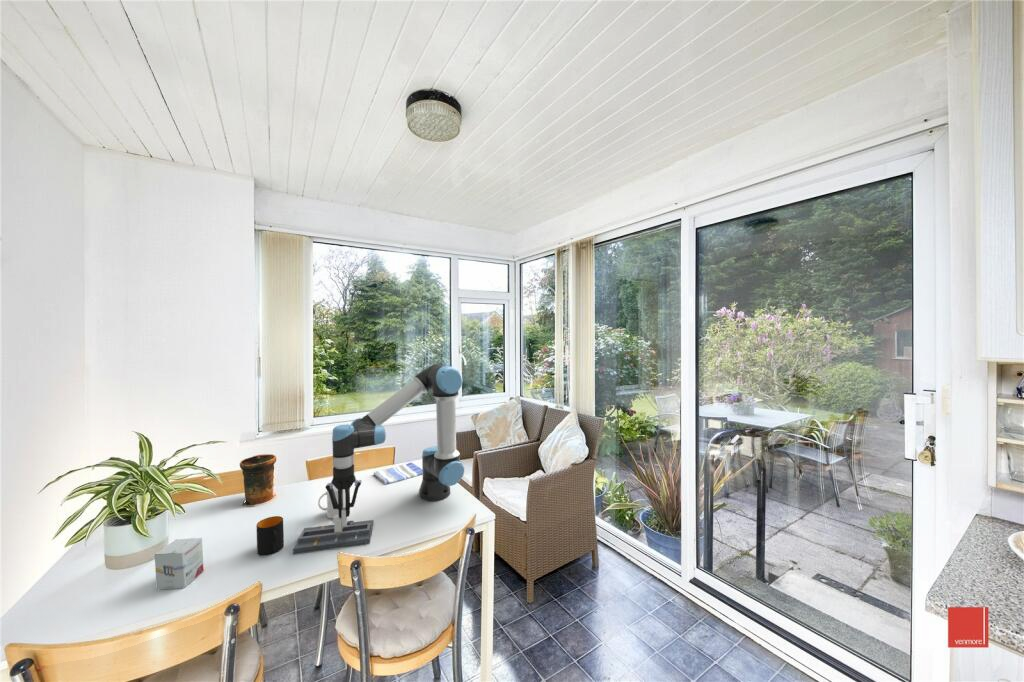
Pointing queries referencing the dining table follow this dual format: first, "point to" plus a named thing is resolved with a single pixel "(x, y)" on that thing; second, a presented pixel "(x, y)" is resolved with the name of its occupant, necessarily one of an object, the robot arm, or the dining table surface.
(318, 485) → the dining table surface
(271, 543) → the mug
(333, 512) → the mug
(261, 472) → the vessel
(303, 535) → the console
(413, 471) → the dish towel
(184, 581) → the ink box
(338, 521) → the fader
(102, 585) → the dining table surface
